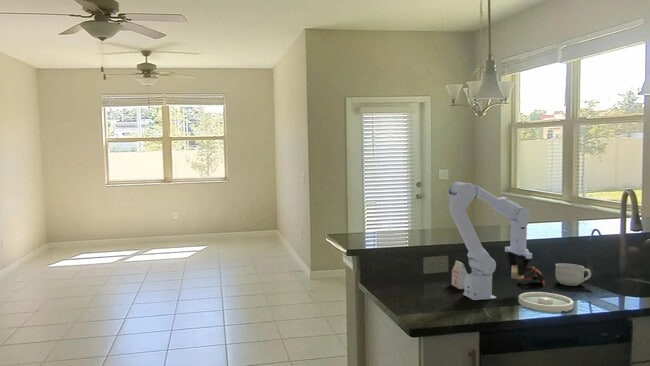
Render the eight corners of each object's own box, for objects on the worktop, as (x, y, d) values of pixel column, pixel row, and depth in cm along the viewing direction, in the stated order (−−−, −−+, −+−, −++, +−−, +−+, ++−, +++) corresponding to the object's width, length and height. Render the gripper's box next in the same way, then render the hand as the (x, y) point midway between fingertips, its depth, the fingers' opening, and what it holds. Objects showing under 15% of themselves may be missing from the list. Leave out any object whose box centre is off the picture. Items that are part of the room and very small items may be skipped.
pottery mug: (546, 289, 207) (535, 271, 207) (523, 296, 213) (513, 279, 212) (549, 275, 217) (539, 258, 217) (527, 282, 223) (518, 266, 222)
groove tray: (539, 313, 175) (539, 307, 175) (509, 299, 192) (509, 293, 192) (584, 309, 179) (584, 304, 179) (550, 296, 196) (551, 290, 196)
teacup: (549, 282, 216) (549, 263, 216) (567, 279, 221) (568, 261, 220) (578, 290, 204) (578, 270, 203) (597, 287, 208) (597, 267, 208)
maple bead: (515, 279, 195) (516, 267, 195) (508, 276, 200) (509, 265, 199) (526, 278, 196) (526, 266, 196) (519, 276, 201) (519, 264, 200)
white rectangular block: (460, 284, 213) (460, 260, 213) (467, 288, 207) (467, 263, 206) (451, 284, 213) (451, 260, 212) (458, 289, 206) (459, 264, 206)
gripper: (539, 241, 191) (538, 277, 192) (516, 234, 205) (515, 269, 206) (522, 241, 189) (521, 278, 190) (500, 235, 204) (499, 270, 204)
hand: (517, 273), depth 198 cm, fingers closed on maple bead, 4 cm apart
